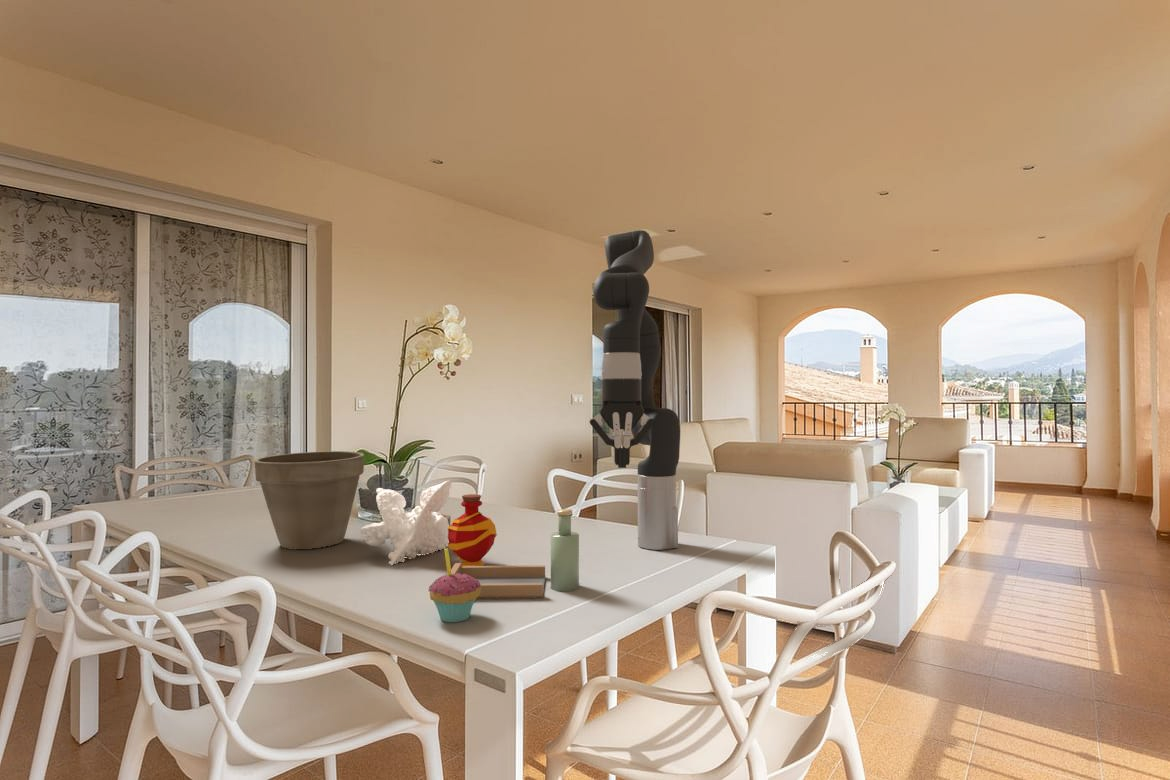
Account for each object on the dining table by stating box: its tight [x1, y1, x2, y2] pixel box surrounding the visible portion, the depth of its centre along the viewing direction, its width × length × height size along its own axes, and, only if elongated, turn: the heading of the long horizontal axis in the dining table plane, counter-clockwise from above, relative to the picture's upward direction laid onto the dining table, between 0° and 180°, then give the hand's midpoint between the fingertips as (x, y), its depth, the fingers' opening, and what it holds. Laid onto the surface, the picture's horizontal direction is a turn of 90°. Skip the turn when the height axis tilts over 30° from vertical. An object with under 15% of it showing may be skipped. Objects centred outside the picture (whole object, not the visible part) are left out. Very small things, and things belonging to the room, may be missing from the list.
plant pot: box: [253, 450, 365, 550], centre depth 161 cm, size 25×25×22 cm
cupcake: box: [428, 544, 482, 623], centre depth 108 cm, size 9×8×12 cm
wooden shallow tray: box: [451, 562, 546, 600], centre depth 124 cm, size 18×13×3 cm
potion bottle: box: [447, 493, 498, 566], centre depth 140 cm, size 10×10×15 cm
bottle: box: [550, 508, 580, 592], centre depth 124 cm, size 5×5×15 cm
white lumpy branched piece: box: [359, 480, 452, 565], centre depth 150 cm, size 19×20×20 cm
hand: (621, 467), depth 125 cm, fingers closed
